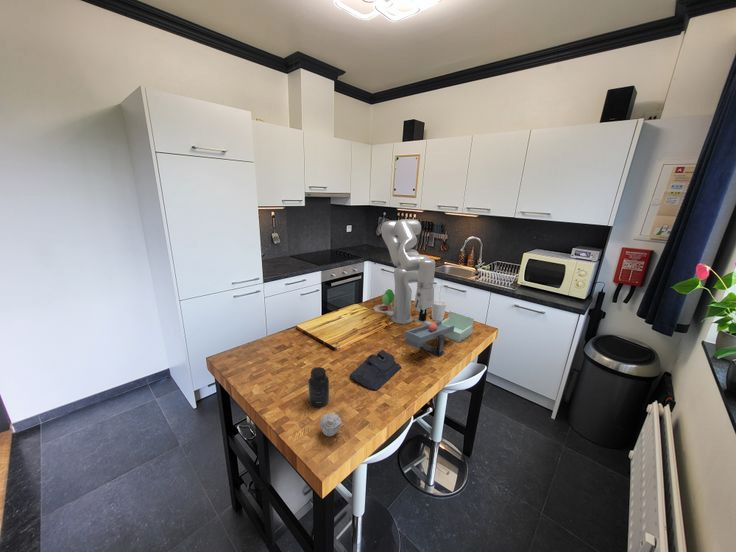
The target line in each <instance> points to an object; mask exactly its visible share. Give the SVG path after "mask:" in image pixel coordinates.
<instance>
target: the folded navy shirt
mask: <svg viewBox="0 0 736 552" xmlns="http://www.w3.org/2000/svg"><path fill="white" fill-rule="evenodd" d="M401 369H403V368H402V366H401V364H399V363H397V362H396V359H395V356H394V355H392V354H391V353H389V352H386V351H385V350H384V349H380V351H378V352H377V353H376V354H373V353H372V354H371V355H369V356H368V357H367V358H365V359H364V361H363V362H362V363H360V364H359V365H358V366H357V367H356V368H355V369H354V370H353V371H352V372H350V374H349V377H350V379H353V380H354V381H355V382H357V383H359V384H361V385H362V386H364V387H365V388H367V389H369V390H371V391H376V392H377V391H379V390H380V389H382V387H383V386H385V385H386V383H388V382H389V381H390V380H391V379H392V378H393V377H394V376H395V375H396V374H397V373H398V372H399V371H400V370H401Z"/></svg>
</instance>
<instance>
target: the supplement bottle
mask: <svg viewBox="0 0 736 552" xmlns="http://www.w3.org/2000/svg"><path fill="white" fill-rule="evenodd" d="M326 373H327V372H326V369H325V368H324V367H322V366H321V367H320V366H317V367H314V368H312V369H311V370H310V377H309V378H308V381H307V382H308V383H307V385H308V386H307V387H308V402H309V405H310V406H312V407H313V408H322V407H325V406H326V405H327V404H329V401H330V384H329V383H330V381H329V377H328V376H327V375H326Z"/></svg>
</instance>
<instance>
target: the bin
mask: <svg viewBox="0 0 736 552" xmlns="http://www.w3.org/2000/svg"><path fill="white" fill-rule="evenodd" d="M474 322H475V318H474V317H471V316H468V315H465V314H462V313H459V312H456V311H452V310H449V312H448V317H447V318H445V319H443V320H442V323H441V325H444V326H446V327H450V326H452V325H454V326H455V327H454V331H453V332H450V333H448V334H445V335H444V339H448V340H451V341H453V342H455V343H457V344H458V343H459V344H460V343H462V341H464V340H466V339H467V338H468V337H470V336H472V334H473V329H474V328H473V327H474Z"/></svg>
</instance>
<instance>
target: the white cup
mask: <svg viewBox="0 0 736 552" xmlns="http://www.w3.org/2000/svg"><path fill="white" fill-rule="evenodd" d="M446 306H447V302H445V301H444V300H441V299H440V300H439V299H436V300H435V299H434V304H433V306H431V319H432V320H433V321H435V322H438V321H443V320H444V317H445V313H446Z"/></svg>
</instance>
